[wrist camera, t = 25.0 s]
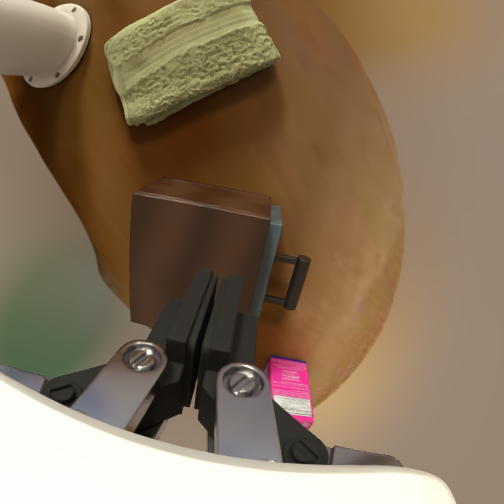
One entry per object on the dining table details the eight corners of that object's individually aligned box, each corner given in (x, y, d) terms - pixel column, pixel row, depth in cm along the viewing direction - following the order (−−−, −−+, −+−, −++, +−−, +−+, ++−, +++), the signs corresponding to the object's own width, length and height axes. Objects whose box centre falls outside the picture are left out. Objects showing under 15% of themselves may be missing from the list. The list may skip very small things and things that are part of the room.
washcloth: (105, 47, 26) (91, 42, 23) (240, -20, 22) (237, -32, 19) (140, 135, 30) (127, 136, 27) (286, 70, 27) (288, 64, 24)
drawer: (314, 213, 32) (325, 235, 26) (286, 312, 37) (288, 346, 31) (178, 186, 32) (157, 200, 25) (168, 287, 37) (151, 317, 31)
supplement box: (295, 384, 44) (298, 443, 34) (259, 378, 44) (256, 438, 33) (308, 360, 42) (315, 422, 31) (270, 353, 41) (269, 416, 31)
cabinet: (270, 196, 32) (270, 219, 25) (246, 304, 38) (240, 347, 31) (163, 176, 32) (131, 193, 24) (154, 284, 38) (130, 321, 30)
